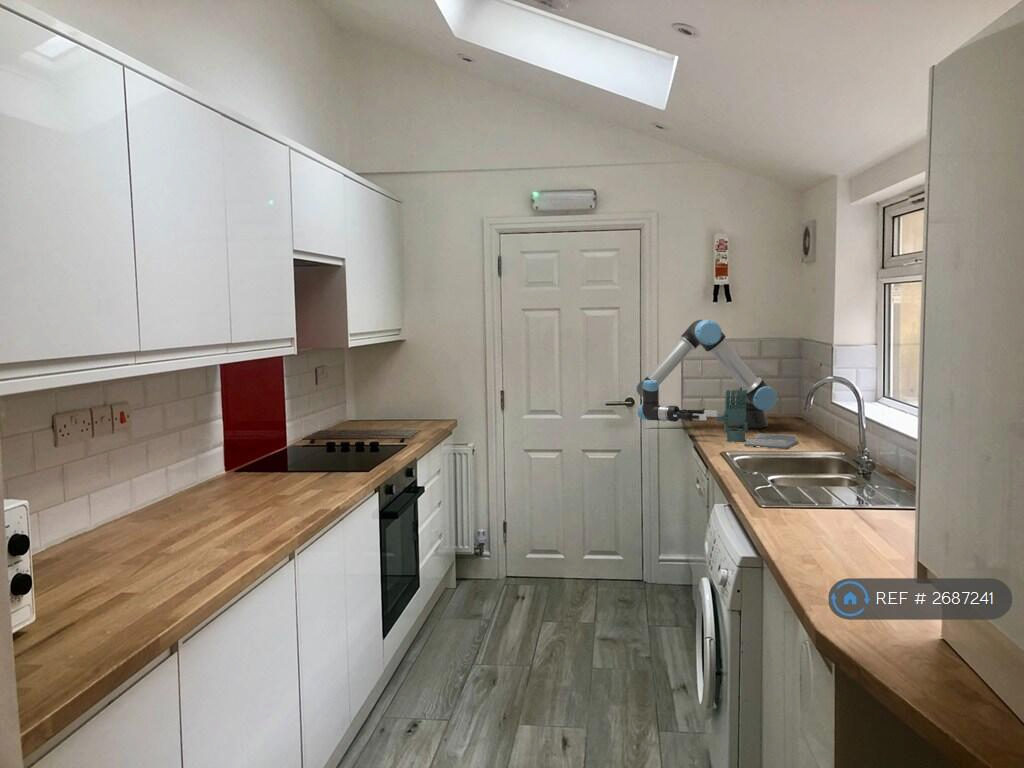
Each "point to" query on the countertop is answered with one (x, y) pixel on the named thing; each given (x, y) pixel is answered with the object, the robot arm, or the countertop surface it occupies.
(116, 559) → the countertop surface
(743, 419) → the robotic hand
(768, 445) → the rail dock
